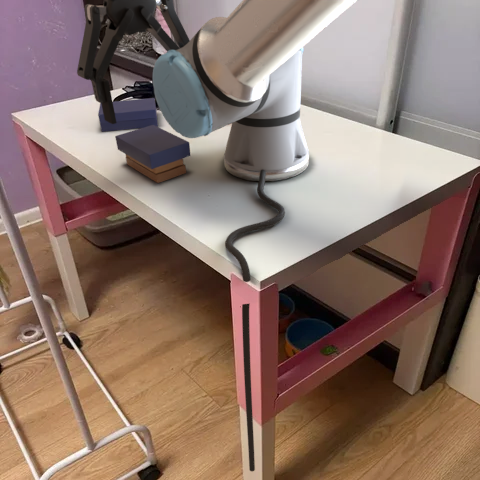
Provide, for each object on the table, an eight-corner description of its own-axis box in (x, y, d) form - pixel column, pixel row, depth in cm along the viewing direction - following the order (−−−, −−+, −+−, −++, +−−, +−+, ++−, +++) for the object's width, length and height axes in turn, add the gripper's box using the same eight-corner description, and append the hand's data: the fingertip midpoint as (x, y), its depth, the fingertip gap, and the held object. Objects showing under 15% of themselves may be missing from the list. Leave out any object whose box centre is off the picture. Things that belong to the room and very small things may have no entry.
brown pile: (186, 172, 91) (184, 156, 89) (157, 183, 89) (155, 166, 87) (154, 155, 98) (151, 139, 96) (126, 164, 95) (123, 148, 93)
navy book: (190, 155, 89) (189, 141, 88) (151, 169, 86) (149, 155, 84) (155, 137, 97) (153, 124, 95) (117, 149, 93) (114, 135, 92)
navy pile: (156, 114, 116) (154, 97, 114) (157, 126, 110) (155, 109, 108) (103, 119, 115) (100, 102, 113) (101, 131, 109) (98, 114, 107)
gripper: (180, -51, 81) (193, 90, 95) (29, -33, 70) (68, 124, 83) (208, -48, 76) (218, 99, 90) (50, -29, 65) (89, 136, 79)
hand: (146, 111), depth 87 cm, fingers open, 13 cm apart
